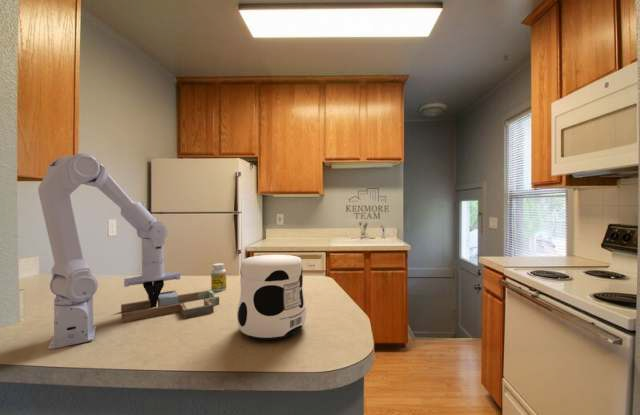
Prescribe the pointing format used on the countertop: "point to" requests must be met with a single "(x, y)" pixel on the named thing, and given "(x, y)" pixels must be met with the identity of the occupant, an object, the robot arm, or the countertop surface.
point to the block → (167, 299)
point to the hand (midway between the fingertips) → (153, 306)
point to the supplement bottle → (218, 277)
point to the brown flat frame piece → (171, 306)
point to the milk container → (271, 297)
